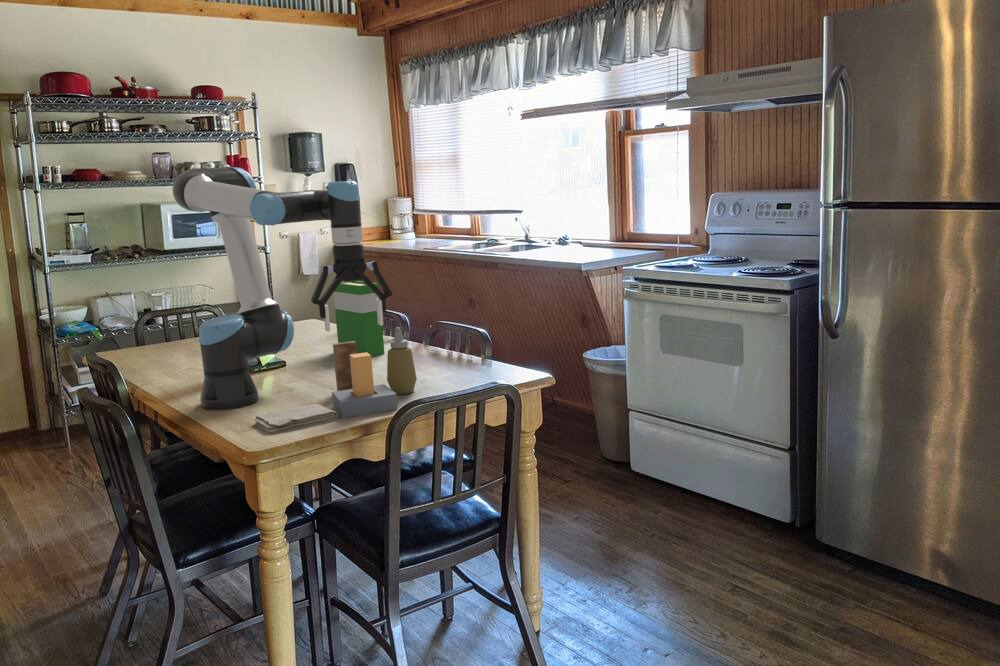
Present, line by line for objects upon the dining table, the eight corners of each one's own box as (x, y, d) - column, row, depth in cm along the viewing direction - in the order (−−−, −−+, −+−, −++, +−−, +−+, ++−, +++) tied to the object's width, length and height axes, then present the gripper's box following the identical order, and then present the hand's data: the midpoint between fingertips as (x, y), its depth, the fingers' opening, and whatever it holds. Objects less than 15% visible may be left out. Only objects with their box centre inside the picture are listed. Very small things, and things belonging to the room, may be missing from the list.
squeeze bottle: (396, 387, 236) (391, 324, 232) (422, 389, 233) (417, 325, 229) (382, 395, 228) (377, 330, 225) (409, 396, 225) (404, 330, 222)
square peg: (358, 411, 214) (353, 357, 211) (354, 407, 218) (349, 354, 215) (375, 408, 215) (371, 355, 213) (371, 404, 219) (366, 352, 217)
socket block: (343, 417, 208) (341, 402, 208) (333, 406, 219) (331, 391, 219) (397, 409, 214) (396, 393, 213) (385, 398, 225) (384, 384, 224)
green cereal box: (338, 351, 291) (332, 282, 287) (357, 347, 296) (351, 280, 292) (365, 357, 278) (359, 286, 274) (384, 353, 283) (378, 283, 278)
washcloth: (252, 426, 208) (250, 414, 207) (319, 411, 218) (318, 399, 217) (269, 436, 198) (268, 424, 198) (339, 420, 208) (338, 408, 208)
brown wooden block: (338, 394, 232) (334, 344, 229) (337, 393, 234) (332, 343, 231) (360, 391, 234) (355, 342, 231) (358, 389, 236) (354, 340, 233)
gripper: (299, 249, 201) (307, 335, 205) (400, 241, 211) (406, 324, 215) (294, 246, 208) (302, 330, 212) (392, 239, 217) (398, 320, 221)
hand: (354, 327), depth 213 cm, fingers open, 13 cm apart
